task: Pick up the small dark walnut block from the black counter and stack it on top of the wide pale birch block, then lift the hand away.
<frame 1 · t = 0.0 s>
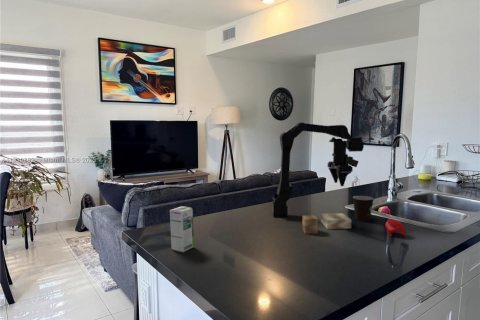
hand: (339, 184, 155), 15 cm above the worktop, tool pointing down, fingers open, 9 cm apart
birch block: (335, 225, 141), on the worktop
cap: (395, 235, 127), on the worktop
walnut block: (309, 231, 132), on the worktop
coffee mug: (364, 219, 149), on the worktop
syrup box: (182, 248, 116), on the worktop
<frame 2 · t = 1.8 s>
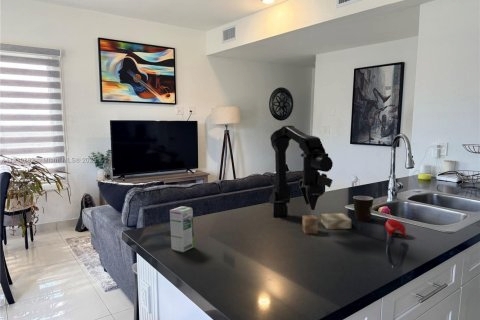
hand: (310, 207, 131), 10 cm above the worktop, tool pointing down, fingers open, 9 cm apart
nothing on the worktop moved.
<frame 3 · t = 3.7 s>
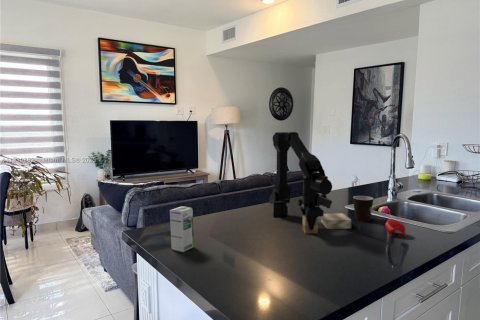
hand: (309, 227, 132), 2 cm above the worktop, tool pointing down, fingers closed on walnut block, 5 cm apart
walnut block: (309, 231, 132), on the worktop, touching gripper
everything else where it was.
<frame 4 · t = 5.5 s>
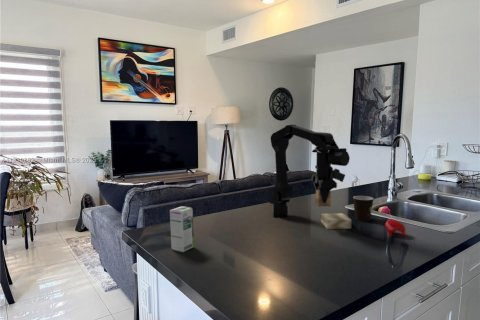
hand: (322, 201, 135), 11 cm above the worktop, tool pointing down, fingers closed on walnut block, 5 cm apart
walnut block: (322, 204, 135), point 10 cm above the worktop, touching gripper
everything else where it was.
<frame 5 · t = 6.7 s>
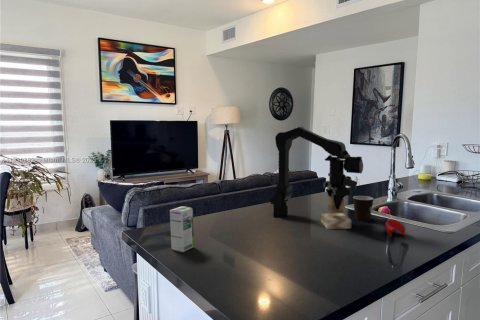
hand: (335, 207, 140), 8 cm above the worktop, tool pointing down, fingers closed on walnut block, 5 cm apart
walnut block: (335, 211, 140), point 6 cm above the worktop, touching gripper
everything else where it was.
when the fingers open (7 cm above the worktop, at t = 7.6 s): walnut block drops 2 cm, resting on birch block.
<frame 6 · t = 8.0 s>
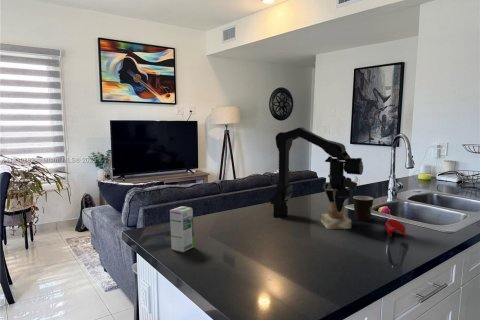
hand: (335, 209, 140), 7 cm above the worktop, tool pointing down, fingers open, 9 cm apart
birch block: (335, 225, 141), on the worktop, touching walnut block
walnut block: (336, 216, 140), point 4 cm above the worktop, touching birch block
everything else where it was.
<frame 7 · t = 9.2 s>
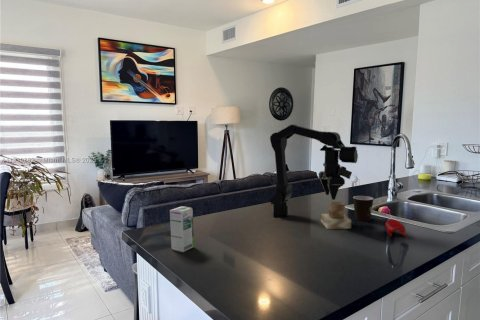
hand: (330, 197, 142), 12 cm above the worktop, tool pointing down, fingers open, 9 cm apart
nothing on the worktop moved.
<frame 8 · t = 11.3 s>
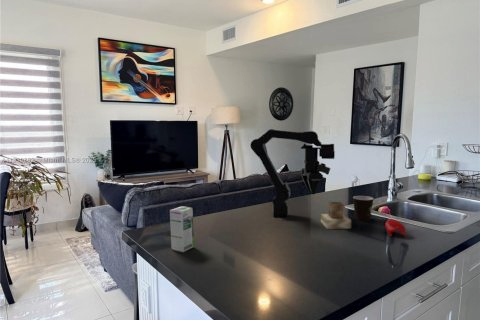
hand: (310, 192, 151), 12 cm above the worktop, tool pointing down, fingers open, 9 cm apart
birch block: (335, 225, 141), on the worktop
walnut block: (335, 216, 140), point 4 cm above the worktop
everything else where it was.
at the end: walnut block 0.1 cm off-centre on the birch block, point 4.0 cm above the birch block's base; walnut block tilted 0°; the gripper is holding nothing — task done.
